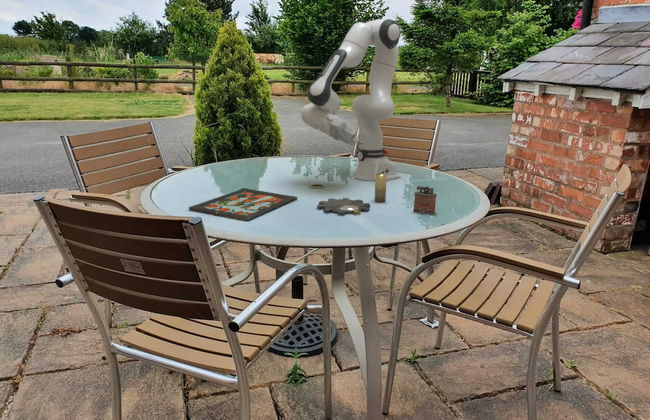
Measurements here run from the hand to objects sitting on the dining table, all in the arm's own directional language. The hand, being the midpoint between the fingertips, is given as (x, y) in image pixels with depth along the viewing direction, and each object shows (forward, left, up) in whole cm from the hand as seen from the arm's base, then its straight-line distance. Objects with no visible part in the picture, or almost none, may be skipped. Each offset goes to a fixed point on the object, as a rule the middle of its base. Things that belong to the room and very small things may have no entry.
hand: (358, 138), depth 201 cm
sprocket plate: (+18, +19, -23) cm, 34 cm away
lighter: (-6, +37, -23) cm, 44 cm away
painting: (+50, -1, -24) cm, 55 cm away
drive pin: (0, +17, -23) cm, 28 cm away
